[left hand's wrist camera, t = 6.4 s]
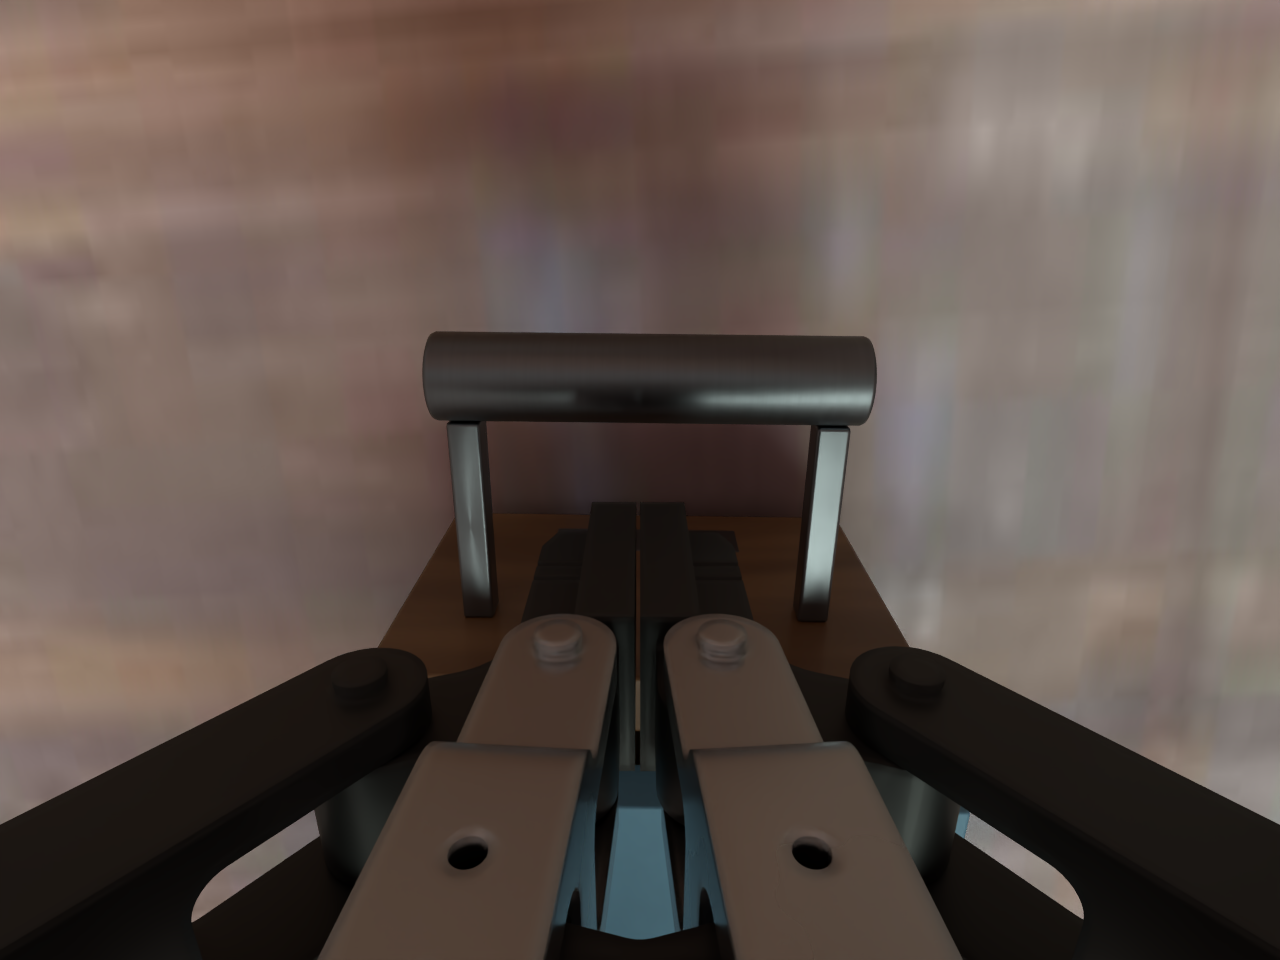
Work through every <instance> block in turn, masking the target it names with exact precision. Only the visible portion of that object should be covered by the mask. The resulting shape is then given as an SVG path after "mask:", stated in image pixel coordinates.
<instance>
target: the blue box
mask: <svg viewBox="0 0 1280 960" xmlns="http://www.w3.org/2000/svg"><path fill="white" fill-rule="evenodd" d="M618 795H619V827H618V835H617V843H616V851H615V859H614V867H613V874H612V882H611V890H610V898H609V906H608V914H607V922H606V929H605V932H606V933H610V934H614V935H618V936H622V937H625V938H631V939H649V938H655V937H658V936H662V935H666V934H670V933H674V932H675V929H674V922H673V914H672V906H671V898H670V890H669V882H668V874H667V867H666V859H665V851H664V843H663V835H662V827H661V804H660V802H659V800H658V797H657V791H656V771H640V765H635V771H619V788H618ZM969 816H970V813H969V811H968V810H966V809H964V808H963V807H961V806H960V811H959V816H958V821H957V825H956V830H955V833H957V834H958V835H959V836H961V837H962V838H964V837H965V833H966V829H967V824H968V820H969Z"/></svg>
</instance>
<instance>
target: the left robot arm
mask: <svg viewBox="0 0 1280 960" xmlns="http://www.w3.org/2000/svg"><path fill="white" fill-rule="evenodd" d="M635 714H636V502H592V506H591V512H590V518H589V525H588V531H559V532H558V533H557V534H555V535H554V536H553V537H552V538H551V539H550V540H548V541H547V542H546V543H545V544H544V545H543V546H542V549H541V552H540V556H539V559H538V566H536V570H535V574H534V580H533V581H532V584H531V588H530V591H529V595H528V598H527V602H526V606H525V609H524V613H523V616H522V620H521V623H520V624H519V625H517V626H516V627H514V628H513V629H512V630H510V631H509V632H508V633H507V634H506V635H505V636H504V638H503V639H502V641H501V643H500V645H499V647H498V650H497V652H496V654H495V656H494V659H493V660H491V661H489V662H487V663H485V664H482V665H480V666H477V667H474V668H471V669H468V670H464V671H460V672H456V673H451V674H446V675H441V676H436V677H431V678H428V675H427V669H426V666H425V664H424V663H423V661H422V660H421V659H420V658H418V657H417V656H416V655H414V654H412V653H410V652H407V651H404V650H400V649H394V648H369V649H363V650H357V651H353V652H349V653H346V654H343V655H340V656H337V657H335V658H333V659H331V660H328V661H326V662H324V663H322V664H320V665H318V666H316V667H314V668H312V669H310V670H308V671H306V672H304V673H302V674H300V675H298V676H296V677H294V678H292V679H290V680H288V681H286V682H284V683H282V684H280V685H278V686H276V687H274V688H272V689H270V690H268V691H266V692H264V693H262V694H260V695H258V696H256V697H254V698H252V699H250V700H248V701H246V702H244V703H242V704H240V705H238V706H236V707H234V708H232V709H230V710H228V711H226V712H224V713H222V714H220V715H218V716H216V717H214V718H212V719H210V720H208V721H206V722H204V723H202V724H200V725H198V726H196V727H194V728H192V729H191V730H189V731H187V732H185V733H183V734H181V735H179V736H177V737H175V738H173V739H171V740H169V741H167V742H165V743H163V744H161V745H159V746H157V747H155V748H153V749H151V750H149V751H147V752H145V753H143V754H141V755H139V756H137V757H135V758H133V759H131V760H129V761H127V762H125V763H123V764H121V765H119V766H117V767H115V768H113V769H111V770H109V771H107V772H105V773H103V774H101V775H99V776H97V777H95V778H93V779H91V780H89V781H87V782H85V783H83V784H81V785H79V786H77V787H75V788H73V789H71V790H69V791H67V792H65V793H63V794H61V795H59V796H57V797H55V798H53V799H51V800H49V801H47V802H45V803H43V804H41V805H39V806H37V807H35V808H33V809H31V810H29V811H27V812H25V813H23V814H21V815H19V816H17V817H15V818H13V819H11V820H9V821H7V822H5V823H3V824H1V825H0V960H1280V825H1279V824H1277V823H1275V822H1273V821H1271V820H1269V819H1267V818H1265V817H1263V816H1261V815H1259V814H1257V813H1255V812H1253V811H1251V810H1249V809H1247V808H1245V807H1243V806H1241V805H1239V804H1237V803H1235V802H1233V801H1231V800H1229V799H1227V798H1225V797H1223V796H1221V795H1219V794H1217V793H1215V792H1213V791H1211V790H1209V789H1207V788H1205V787H1203V786H1201V785H1199V784H1197V783H1195V782H1193V781H1191V780H1189V779H1187V778H1185V777H1183V776H1181V775H1179V774H1177V773H1175V772H1173V771H1171V770H1169V769H1167V768H1165V767H1163V766H1161V765H1159V764H1157V763H1155V762H1153V761H1151V760H1149V759H1147V758H1145V757H1143V756H1141V755H1139V754H1137V753H1135V752H1133V751H1131V750H1129V749H1127V748H1125V747H1123V746H1121V745H1119V744H1117V743H1115V742H1113V741H1111V740H1109V739H1107V738H1105V737H1103V736H1101V735H1099V734H1097V733H1095V732H1093V731H1091V730H1089V729H1087V728H1085V727H1083V726H1081V725H1079V724H1077V723H1076V722H1074V721H1072V720H1070V719H1068V718H1066V717H1064V716H1062V715H1060V714H1058V713H1056V712H1054V711H1052V710H1050V709H1048V708H1046V707H1044V706H1042V705H1040V704H1038V703H1036V702H1034V701H1032V700H1030V699H1028V698H1026V697H1024V696H1022V695H1020V694H1018V693H1016V692H1014V691H1012V690H1010V689H1008V688H1006V687H1004V686H1002V685H1000V684H998V683H996V682H994V681H992V680H990V679H988V678H986V677H984V676H982V675H980V674H978V673H976V672H974V671H972V670H970V669H968V668H966V667H964V666H962V665H960V664H958V663H956V662H954V661H952V660H950V659H948V658H945V657H943V656H941V655H938V654H935V653H932V652H929V651H926V650H922V649H917V648H911V647H901V646H887V647H880V648H875V649H872V650H868V651H866V652H864V653H862V654H861V655H859V656H858V657H857V658H856V659H855V660H854V661H853V663H852V665H851V668H850V675H849V679H847V678H842V677H837V676H832V675H827V674H823V673H818V672H813V671H809V670H805V669H802V668H800V667H797V666H794V665H792V664H790V663H788V661H787V659H786V656H785V654H784V652H783V650H782V647H781V645H780V643H779V641H778V639H777V638H776V636H775V635H774V634H773V633H772V632H771V631H770V630H768V629H767V628H766V627H764V626H763V625H761V624H759V623H757V622H755V621H754V620H753V616H752V612H751V608H750V605H749V601H748V597H747V594H746V590H745V586H744V582H743V580H742V575H741V571H740V568H739V566H738V560H737V556H736V553H735V549H734V546H733V545H732V544H731V543H730V542H729V541H727V540H726V539H725V538H724V537H723V536H722V535H720V534H719V533H718V532H717V531H688V526H687V519H686V512H685V505H684V502H640V771H656V791H657V797H658V800H659V802H660V804H661V827H662V835H663V843H664V851H665V859H666V867H667V874H668V882H669V890H670V898H671V906H672V914H673V922H674V929H675V932H674V933H670V934H666V935H662V936H658V937H655V938H649V939H631V938H625V937H622V936H618V935H614V934H610V933H606V932H605V929H606V922H607V914H608V906H609V898H610V890H611V882H612V874H613V867H614V859H615V851H616V843H617V835H618V827H619V795H618V788H619V771H635ZM960 806H961V807H963V808H964V809H966V810H968V811H969V812H971V813H972V814H974V815H975V816H977V817H978V818H980V819H981V820H983V821H984V822H986V823H987V824H989V825H990V826H992V827H994V828H995V829H997V830H998V831H1000V832H1001V833H1003V834H1004V835H1006V836H1007V837H1009V838H1010V839H1012V840H1013V841H1015V842H1017V843H1018V844H1020V845H1021V846H1023V847H1024V848H1026V849H1027V850H1029V851H1030V852H1032V853H1033V854H1035V855H1036V856H1038V857H1040V858H1041V859H1043V860H1044V861H1046V862H1047V863H1049V864H1050V865H1051V866H1053V867H1054V868H1055V869H1057V870H1058V871H1059V872H1060V873H1061V874H1062V875H1063V876H1064V877H1065V878H1066V879H1067V880H1068V881H1069V883H1070V884H1071V885H1072V887H1073V888H1074V889H1075V891H1076V893H1077V895H1078V896H1079V899H1080V901H1081V903H1082V907H1083V911H1084V920H1083V919H1081V918H1080V917H1078V916H1076V915H1075V914H1073V913H1072V912H1070V911H1069V910H1067V909H1066V908H1065V907H1063V906H1062V905H1060V904H1059V903H1057V902H1056V901H1054V900H1053V899H1051V898H1050V897H1048V896H1047V895H1046V894H1044V893H1043V892H1041V891H1040V890H1038V889H1037V888H1035V887H1034V886H1032V885H1031V884H1030V883H1028V882H1027V881H1025V880H1024V879H1022V878H1021V877H1019V876H1018V875H1016V874H1015V873H1013V872H1012V871H1011V870H1009V869H1008V868H1006V867H1005V866H1003V865H1002V864H1000V863H999V862H997V861H996V860H995V859H993V858H992V857H990V856H989V855H987V854H986V853H984V852H983V851H981V850H980V849H978V848H977V847H976V846H974V845H973V844H971V843H970V842H968V841H967V840H965V839H964V838H962V837H961V836H959V835H958V834H957V833H955V830H956V825H957V821H958V816H959V811H960ZM312 810H315V815H316V820H317V825H318V829H319V834H320V836H319V837H318V838H316V839H315V840H313V841H312V842H310V843H309V844H307V845H306V846H304V847H303V848H302V849H300V850H299V851H297V852H296V853H294V854H293V855H291V856H290V857H288V858H287V859H285V860H284V861H283V862H281V863H280V864H278V865H277V866H275V867H274V868H272V869H271V870H269V871H268V872H267V873H265V874H264V875H262V876H261V877H259V878H258V879H256V880H255V881H253V882H252V883H250V884H249V885H248V886H246V887H245V888H243V889H242V890H240V891H239V892H237V893H236V894H234V895H233V896H231V897H230V898H229V899H227V900H226V901H224V902H223V903H221V904H220V905H218V906H217V907H215V908H214V909H213V910H211V911H210V912H208V913H207V914H205V915H204V916H202V917H201V918H199V919H198V920H196V921H194V922H191V916H192V911H193V907H194V905H195V902H196V900H197V898H198V896H199V895H200V893H201V891H202V890H203V889H204V887H205V886H206V885H207V884H208V883H209V881H210V880H211V879H212V878H213V877H214V876H215V875H217V874H218V873H219V872H220V871H221V870H223V869H224V868H225V867H227V866H228V865H230V864H231V863H233V862H234V861H236V860H237V859H239V858H240V857H242V856H244V855H245V854H247V853H248V852H250V851H251V850H253V849H254V848H256V847H257V846H259V845H260V844H262V843H263V842H265V841H267V840H268V839H270V838H271V837H273V836H274V835H276V834H277V833H279V832H280V831H282V830H283V829H285V828H286V827H288V826H289V825H291V824H293V823H294V822H296V821H297V820H299V819H300V818H302V817H303V816H305V815H306V814H308V813H309V812H311V811H312Z"/></svg>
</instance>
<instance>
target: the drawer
mask: <svg viewBox="0 0 1280 960" xmlns="http://www.w3.org/2000/svg"><path fill="white" fill-rule="evenodd" d="M422 377H423V389H424V396H425V400H426V404H427V407H428V410H429V412H430V414H431V416H432V417H433V418H434V419H436V420H444V421H449V422H448V423H447V436H448V447H449V458H450V468H451V479H452V490H453V501H454V511H455V518H454V520H453V522H452V523H451V525H450V527H449V528H448V530H447V532H446V534H445V535H444V537H443V539H442V540H441V542H440V544H439V545H438V547H437V549H436V550H435V552H434V554H433V555H432V557H431V559H430V560H429V562H428V564H427V565H426V567H425V569H424V571H423V572H422V574H421V576H420V577H419V579H418V581H417V582H416V584H415V586H414V587H413V589H412V591H411V592H410V594H409V596H408V597H407V599H406V601H405V602H404V604H403V606H402V608H401V609H400V611H399V613H398V614H397V616H396V618H395V619H394V621H393V623H392V624H391V626H390V628H389V629H388V631H387V633H386V634H385V636H384V638H383V639H382V641H381V643H380V645H379V646H378V648H394V649H400V650H404V651H407V652H410V653H412V654H414V655H416V656H417V657H418V658H420V659H421V660H422V661H423V663H424V664H425V666H426V669H427V675H428V678H431V677H436V676H441V675H446V674H451V673H456V672H460V671H464V670H468V669H471V668H474V667H477V666H480V665H482V664H485V663H487V662H489V661H491V660H493V659H494V656H495V654H496V652H497V650H498V647H499V645H500V643H501V641H502V639H503V638H504V636H505V635H506V634H507V633H508V632H509V631H510V630H512V629H513V628H514V627H516V626H517V625H519V624H520V623H521V620H522V616H523V613H524V609H525V606H526V602H527V598H528V595H529V591H530V588H531V584H532V581H533V580H534V574H535V570H536V566H538V559H539V556H540V552H541V549H542V546H543V545H544V544H545V543H546V542H547V541H548V540H550V539H551V538H552V537H553V536H554V535H555V534H557V533H558V532H559V531H588V525H589V518H590V515H574V514H499V513H492V500H491V486H490V472H489V458H488V444H487V430H486V421H525V422H605V423H686V424H767V425H811V432H810V442H809V452H808V462H807V472H806V481H805V491H804V501H803V511H802V518H800V517H725V516H686V519H687V526H688V531H717V532H718V533H719V534H720V535H722V536H723V537H724V538H725V539H726V540H727V541H729V542H730V543H731V544H732V545H733V546H734V549H735V553H736V556H737V560H738V566H739V568H740V571H741V575H742V580H743V582H744V586H745V590H746V594H747V597H748V601H749V605H750V608H751V612H752V616H753V620H754V621H755V622H757V623H759V624H761V625H763V626H764V627H766V628H767V629H768V630H770V631H771V632H772V633H773V634H774V635H775V636H776V638H777V639H778V641H779V643H780V645H781V647H782V650H783V652H784V654H785V656H786V659H787V661H788V663H790V664H792V665H794V666H797V667H800V668H802V669H805V670H809V671H813V672H818V673H823V674H827V675H832V676H837V677H842V678H847V679H849V675H850V668H851V665H852V663H853V661H854V660H855V659H856V658H857V657H858V656H859V655H861V654H862V653H864V652H866V651H868V650H872V649H875V648H880V647H887V646H901V647H909V645H908V644H907V642H906V640H905V638H904V637H903V635H902V633H901V631H900V630H899V628H898V626H897V624H896V623H895V621H894V619H893V617H892V616H891V614H890V612H889V611H888V609H887V607H886V605H885V604H884V602H883V600H882V598H881V597H880V595H879V593H878V591H877V590H876V588H875V586H874V584H873V583H872V581H871V579H870V577H869V576H868V574H867V572H866V570H865V569H864V567H863V565H862V563H861V562H860V560H859V558H858V556H857V555H856V553H855V551H854V549H853V548H852V546H851V544H850V542H849V541H848V539H847V537H846V535H845V534H844V532H843V530H842V528H841V527H840V525H839V522H840V514H841V505H842V497H843V489H844V481H845V473H846V464H847V456H848V448H849V440H850V428H849V427H848V426H859V425H862V424H864V423H865V422H866V421H867V419H868V418H869V415H870V413H871V410H872V407H873V403H874V399H875V393H876V383H877V365H876V357H875V352H874V348H873V345H872V343H871V341H870V340H869V339H868V338H866V337H864V336H785V335H698V334H612V333H525V332H439V331H436V332H434V333H432V334H431V335H430V336H429V337H428V339H427V342H426V346H425V350H424V356H423V368H422ZM635 765H640V515H636V714H635Z"/></svg>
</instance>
